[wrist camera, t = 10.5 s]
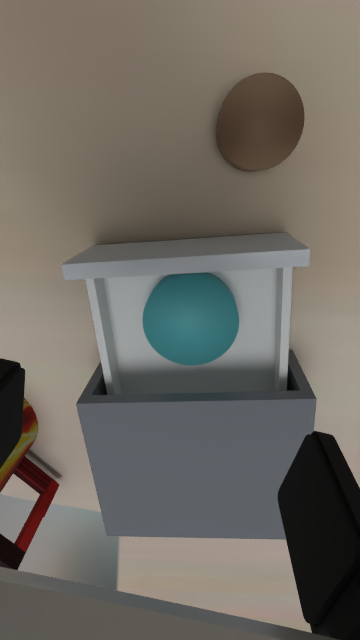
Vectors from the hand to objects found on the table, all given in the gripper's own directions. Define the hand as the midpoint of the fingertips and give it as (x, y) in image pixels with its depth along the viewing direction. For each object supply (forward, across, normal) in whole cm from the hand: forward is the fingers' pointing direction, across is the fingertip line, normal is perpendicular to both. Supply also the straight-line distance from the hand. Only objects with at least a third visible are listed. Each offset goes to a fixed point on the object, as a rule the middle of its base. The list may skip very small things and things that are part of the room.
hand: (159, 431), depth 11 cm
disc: (+16, -1, +2) cm, 16 cm away
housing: (+18, -5, +13) cm, 23 cm away
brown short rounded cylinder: (+18, -2, -11) cm, 21 cm away
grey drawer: (+18, -1, +3) cm, 18 cm away
